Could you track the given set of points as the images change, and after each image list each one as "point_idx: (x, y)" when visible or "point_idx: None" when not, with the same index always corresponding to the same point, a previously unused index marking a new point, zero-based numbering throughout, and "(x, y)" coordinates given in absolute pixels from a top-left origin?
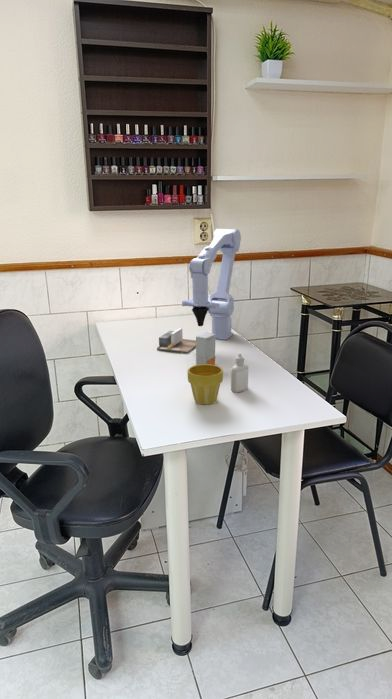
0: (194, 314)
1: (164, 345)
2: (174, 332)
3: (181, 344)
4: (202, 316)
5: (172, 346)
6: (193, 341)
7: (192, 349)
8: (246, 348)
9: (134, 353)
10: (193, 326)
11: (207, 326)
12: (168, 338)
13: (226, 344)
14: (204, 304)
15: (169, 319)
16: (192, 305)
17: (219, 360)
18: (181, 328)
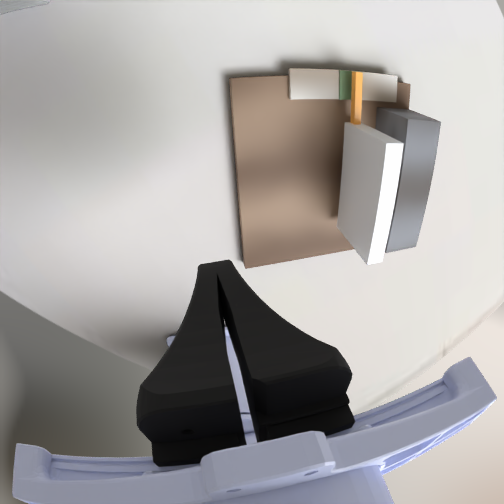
0: (291, 325)
1: (389, 108)
2: (389, 173)
3: (321, 178)
4: (176, 335)
5: None
6: (281, 246)
7: (234, 150)
8: (34, 296)
9: (457, 22)
10: None
11: None
12: None
13: (129, 299)
14: (139, 502)
15: (416, 361)
16: (368, 424)
17: (17, 93)
18: (370, 260)
